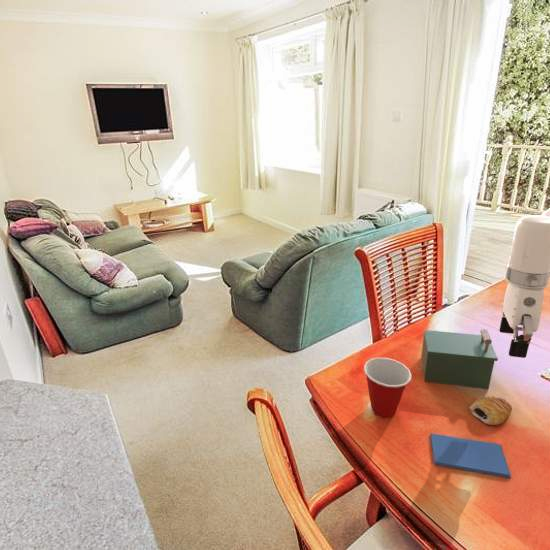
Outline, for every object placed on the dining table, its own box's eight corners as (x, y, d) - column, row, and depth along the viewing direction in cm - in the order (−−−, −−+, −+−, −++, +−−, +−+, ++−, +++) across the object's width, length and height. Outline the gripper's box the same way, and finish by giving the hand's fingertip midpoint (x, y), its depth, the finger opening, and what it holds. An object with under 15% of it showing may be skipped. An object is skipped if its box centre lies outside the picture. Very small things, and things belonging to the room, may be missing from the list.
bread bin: (479, 364, 106) (484, 337, 102) (488, 389, 96) (494, 361, 93) (421, 358, 110) (424, 332, 106) (424, 381, 101) (427, 354, 97)
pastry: (493, 398, 93) (496, 386, 92) (519, 416, 88) (522, 403, 86) (466, 411, 90) (468, 398, 88) (491, 430, 84) (494, 418, 83)
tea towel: (499, 445, 80) (500, 442, 80) (510, 478, 73) (511, 475, 73) (430, 434, 84) (430, 431, 84) (434, 464, 77) (434, 461, 77)
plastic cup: (415, 422, 88) (421, 381, 83) (372, 429, 86) (374, 388, 82) (395, 391, 98) (398, 353, 93) (355, 397, 96) (357, 359, 92)
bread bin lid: (487, 338, 102) (490, 324, 100) (497, 361, 93) (500, 346, 91) (424, 332, 106) (425, 318, 105) (427, 354, 97) (429, 339, 95)
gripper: (562, 295, 70) (542, 369, 77) (536, 261, 85) (520, 326, 92) (516, 291, 72) (500, 364, 79) (498, 259, 87) (486, 322, 94)
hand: (511, 343), depth 85 cm, fingers open, 9 cm apart
